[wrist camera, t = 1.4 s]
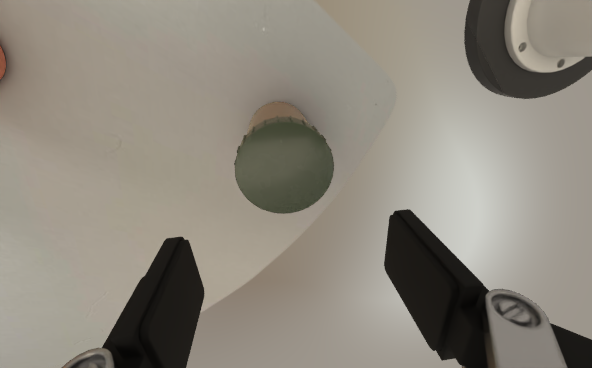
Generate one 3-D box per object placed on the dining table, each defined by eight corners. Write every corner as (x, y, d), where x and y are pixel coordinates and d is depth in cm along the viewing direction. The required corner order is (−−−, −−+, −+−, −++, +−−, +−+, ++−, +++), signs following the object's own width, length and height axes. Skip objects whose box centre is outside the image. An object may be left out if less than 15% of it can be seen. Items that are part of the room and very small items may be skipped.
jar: (278, 87, 26) (285, 104, 16) (319, 131, 28) (346, 168, 19) (236, 132, 27) (220, 170, 18) (278, 170, 30) (284, 222, 20)
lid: (283, 93, 17) (285, 97, 16) (347, 161, 20) (354, 170, 18) (216, 163, 19) (212, 173, 17) (283, 217, 22) (285, 229, 20)
